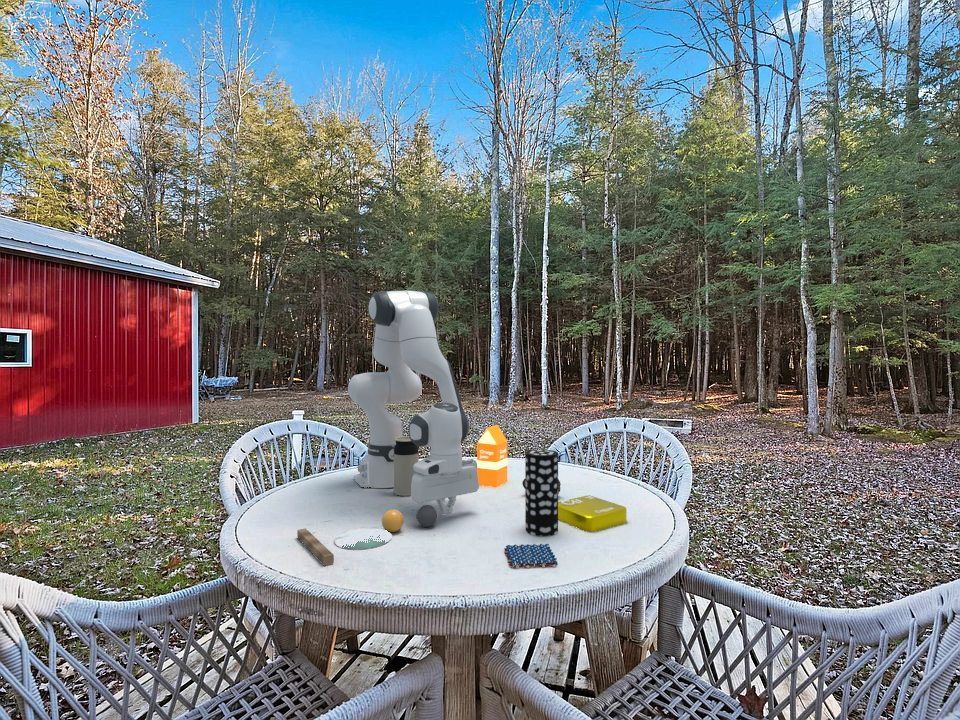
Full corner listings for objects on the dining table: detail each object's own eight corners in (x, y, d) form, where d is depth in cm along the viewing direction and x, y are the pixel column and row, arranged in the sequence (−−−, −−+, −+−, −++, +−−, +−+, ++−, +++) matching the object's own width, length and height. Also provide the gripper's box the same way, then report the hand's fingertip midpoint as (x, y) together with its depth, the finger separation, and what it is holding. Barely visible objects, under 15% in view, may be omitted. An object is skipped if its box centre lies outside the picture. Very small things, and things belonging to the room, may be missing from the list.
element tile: (589, 535, 124) (589, 516, 124) (550, 518, 137) (550, 501, 137) (629, 523, 132) (629, 506, 132) (589, 509, 145) (589, 492, 145)
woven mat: (503, 552, 114) (503, 543, 114) (548, 550, 115) (548, 542, 115) (508, 572, 103) (508, 562, 103) (558, 570, 104) (558, 560, 104)
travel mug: (416, 496, 156) (416, 440, 156) (391, 496, 156) (391, 440, 156) (420, 489, 164) (420, 436, 164) (396, 489, 164) (396, 436, 164)
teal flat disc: (325, 536, 122) (325, 535, 122) (377, 524, 131) (377, 523, 131) (346, 554, 111) (346, 553, 111) (402, 540, 119) (402, 539, 119)
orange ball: (396, 527, 129) (377, 529, 126) (398, 506, 130) (379, 507, 126) (406, 533, 125) (386, 535, 122) (408, 511, 125) (388, 513, 122)
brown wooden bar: (297, 538, 121) (297, 530, 121) (305, 536, 122) (305, 528, 122) (324, 566, 105) (324, 556, 105) (333, 563, 106) (333, 554, 106)
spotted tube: (536, 522, 132) (536, 448, 132) (564, 529, 127) (564, 452, 126) (519, 531, 126) (518, 453, 125) (547, 539, 120) (547, 457, 120)
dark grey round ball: (428, 497, 132) (427, 514, 134) (412, 506, 128) (411, 523, 130) (442, 508, 128) (441, 525, 131) (426, 517, 125) (425, 534, 127)
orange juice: (476, 484, 170) (476, 427, 170) (488, 479, 178) (488, 424, 178) (497, 487, 167) (497, 428, 166) (507, 481, 174) (507, 425, 174)
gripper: (470, 456, 144) (470, 503, 144) (407, 465, 131) (408, 517, 132) (483, 459, 138) (483, 508, 139) (419, 470, 126) (419, 523, 127)
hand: (446, 513), depth 135 cm, fingers closed
